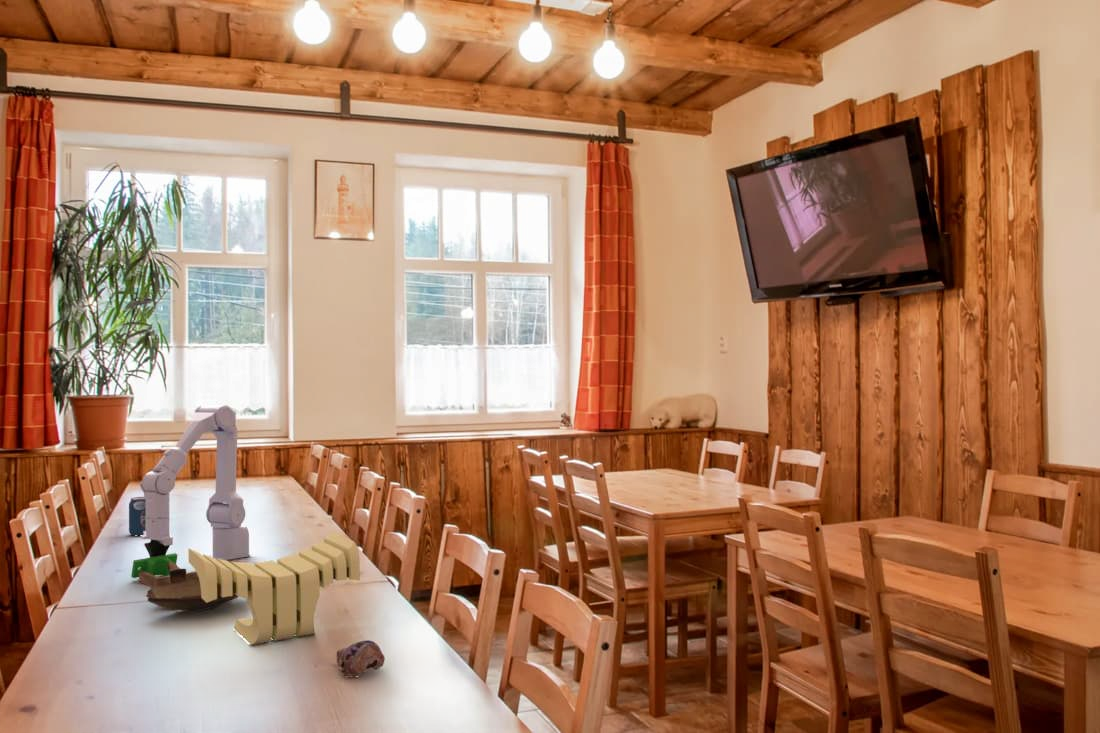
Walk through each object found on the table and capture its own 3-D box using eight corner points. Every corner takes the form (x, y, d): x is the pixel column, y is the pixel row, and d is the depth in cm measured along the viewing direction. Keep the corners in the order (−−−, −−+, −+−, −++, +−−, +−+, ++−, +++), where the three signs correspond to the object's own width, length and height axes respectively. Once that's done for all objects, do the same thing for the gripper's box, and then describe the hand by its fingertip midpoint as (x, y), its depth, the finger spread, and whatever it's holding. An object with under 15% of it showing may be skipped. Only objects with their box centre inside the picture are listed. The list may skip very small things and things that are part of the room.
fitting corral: (209, 569, 237) (209, 560, 237) (228, 576, 230) (228, 566, 230) (139, 581, 224) (138, 571, 224) (156, 589, 216) (156, 578, 216)
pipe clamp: (137, 583, 223) (140, 566, 222) (131, 576, 226) (133, 560, 225) (180, 574, 232) (182, 558, 231) (173, 568, 234) (175, 552, 233)
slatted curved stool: (206, 657, 165) (206, 562, 165) (189, 636, 178) (188, 548, 178) (360, 630, 181) (359, 543, 181) (333, 612, 194) (332, 532, 194)
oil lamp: (142, 628, 184) (142, 591, 184) (149, 594, 212) (149, 562, 212) (255, 616, 192) (255, 581, 192) (248, 585, 220) (247, 555, 220)
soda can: (146, 536, 285) (145, 499, 285) (124, 536, 285) (124, 499, 285) (156, 532, 292) (156, 496, 292) (135, 532, 292) (135, 496, 292)
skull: (326, 665, 160) (326, 632, 160) (367, 658, 164) (366, 625, 164) (348, 686, 150) (348, 650, 150) (391, 677, 154) (390, 642, 154)
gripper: (131, 516, 233) (131, 567, 233) (152, 522, 223) (152, 576, 223) (158, 512, 238) (158, 563, 238) (180, 519, 228) (180, 571, 228)
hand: (157, 569), depth 231 cm, fingers closed, pressing on pipe clamp
